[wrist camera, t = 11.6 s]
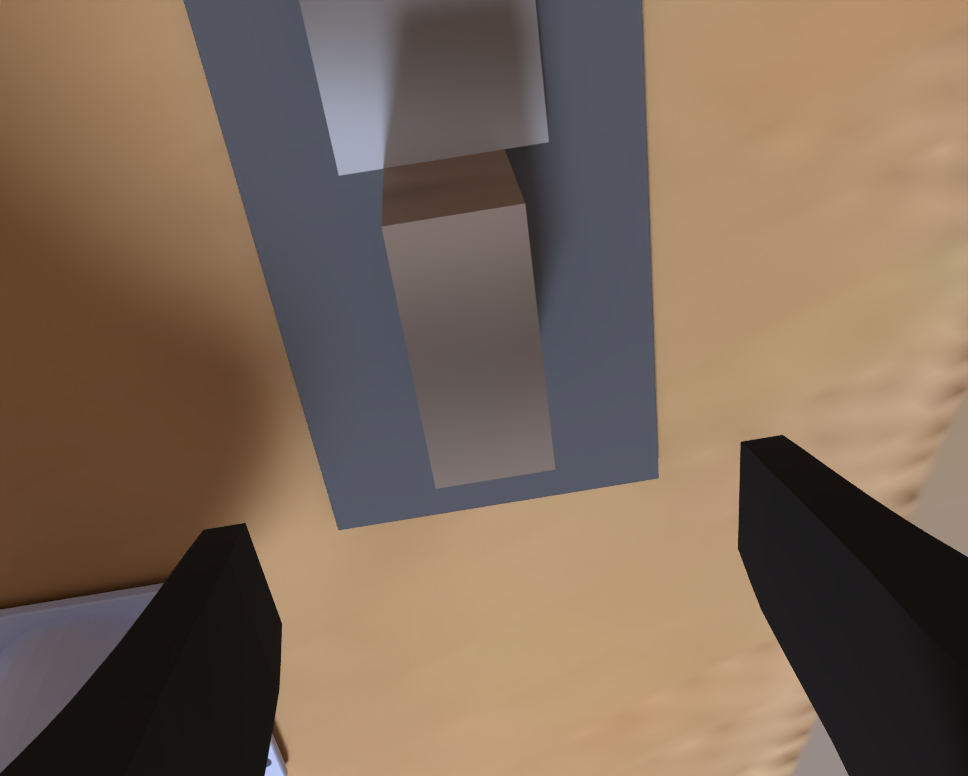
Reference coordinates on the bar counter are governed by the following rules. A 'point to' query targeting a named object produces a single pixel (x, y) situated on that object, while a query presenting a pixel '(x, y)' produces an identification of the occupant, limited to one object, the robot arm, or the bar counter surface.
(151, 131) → the bar counter surface
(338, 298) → the mat
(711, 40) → the bar counter surface
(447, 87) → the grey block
